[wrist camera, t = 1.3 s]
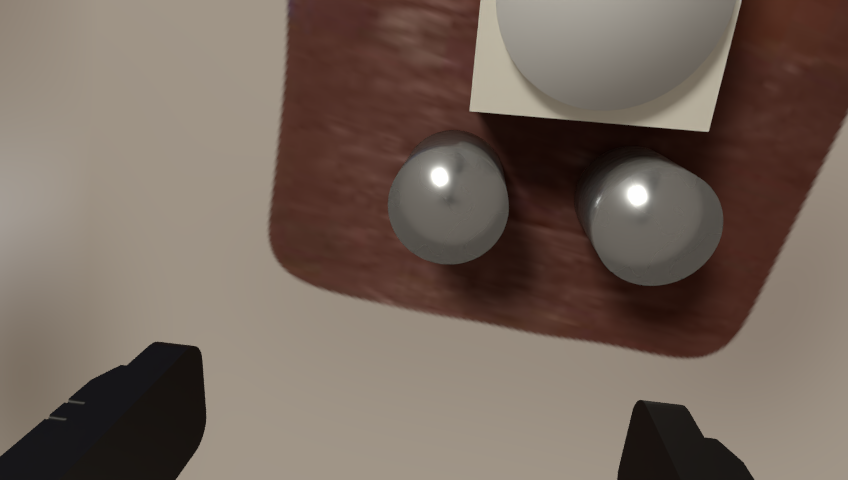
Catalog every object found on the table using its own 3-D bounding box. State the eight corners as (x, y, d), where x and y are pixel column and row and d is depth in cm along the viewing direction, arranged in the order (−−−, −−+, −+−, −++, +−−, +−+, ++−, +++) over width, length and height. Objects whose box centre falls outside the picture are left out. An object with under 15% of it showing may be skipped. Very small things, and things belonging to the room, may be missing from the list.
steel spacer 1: (406, 125, 26) (391, 142, 22) (509, 134, 26) (516, 153, 21) (401, 222, 28) (385, 258, 24) (497, 232, 28) (500, 270, 23)
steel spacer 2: (583, 141, 26) (605, 162, 21) (691, 151, 26) (737, 174, 21) (566, 239, 28) (583, 279, 23) (666, 249, 27) (705, 291, 23)
